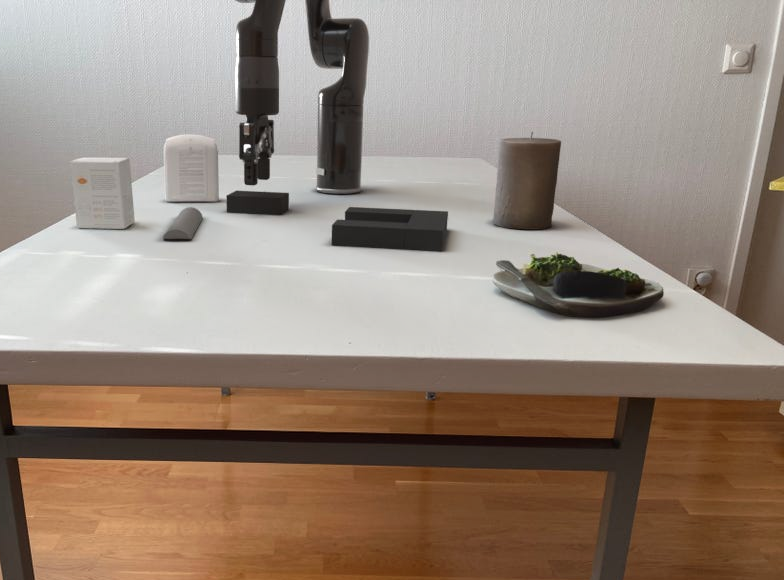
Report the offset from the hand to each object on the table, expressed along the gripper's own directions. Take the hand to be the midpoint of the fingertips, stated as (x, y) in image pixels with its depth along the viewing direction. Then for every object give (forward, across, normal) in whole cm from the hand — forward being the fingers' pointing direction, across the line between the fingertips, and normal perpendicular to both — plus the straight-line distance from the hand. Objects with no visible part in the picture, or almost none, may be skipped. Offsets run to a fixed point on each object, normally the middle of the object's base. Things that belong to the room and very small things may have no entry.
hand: (257, 182), depth 138 cm
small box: (+6, -19, +20) cm, 29 cm away
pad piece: (+5, 0, 0) cm, 5 cm away
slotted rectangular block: (+5, -17, -26) cm, 31 cm away
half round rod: (+6, -18, +7) cm, 21 cm away
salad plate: (+6, -45, -50) cm, 67 cm away
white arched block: (+5, +8, +15) cm, 18 cm away
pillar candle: (+5, -1, -46) cm, 46 cm away
